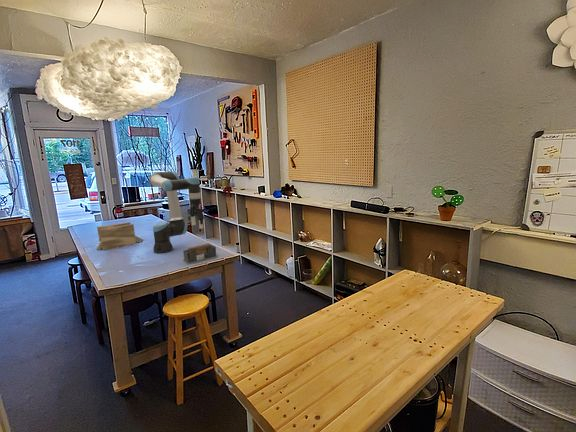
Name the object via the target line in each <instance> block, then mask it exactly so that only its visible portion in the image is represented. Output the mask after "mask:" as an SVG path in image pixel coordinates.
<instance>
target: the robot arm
mask: <svg viewBox="0 0 576 432" xmlns="http://www.w3.org/2000/svg"><path fill="white" fill-rule="evenodd" d="M199 179H200V178H199V177H198V176H189V177H188V178H184V179H183V178H182V179H181V177H180V176H179V174H178V172H176V171H170V170H169V171H160V172H159V171H157V172H154V173H152V174H151V175H150V176H149V177H148V182H149V184H150V185H151V186H152V187H155V188H159V187H160V188H161V189H162V190H163V192H166V198H167V203H168V209H169V210H168V211H169V216H170V219H169V221H160V222H156V223H155V224H153V226H152V229H153V230H152V231H153V237H154V245H153V253H154V254H166V253H168V252H171V251H173V250H174V247H173V244H172V242H171V238H172V237H177V236H182V235H185V234H186V233H187V231H188V223H187V221H186V220H184V217H182V213H181V207H180V199H179V195H178V191H182V190H183V191H184V190H188V196H189V203H190V207H189V208H190V209H189V210H190V211H189V216H190V217H191V226H196V225H197V224H196V216H197V217H198V226H199V230H201V229H204V219H205V216H204V213H203V209H202V208H203V207H202V205H200V204H201V203H202V201H201V188H200V187H201V186H200V183H201V182H200V180H199Z"/></svg>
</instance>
